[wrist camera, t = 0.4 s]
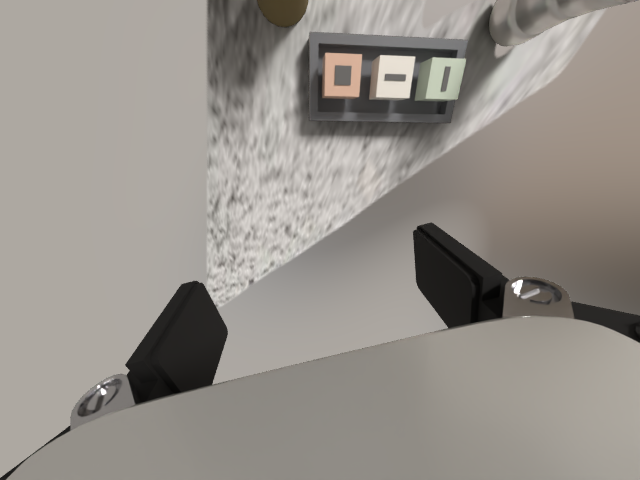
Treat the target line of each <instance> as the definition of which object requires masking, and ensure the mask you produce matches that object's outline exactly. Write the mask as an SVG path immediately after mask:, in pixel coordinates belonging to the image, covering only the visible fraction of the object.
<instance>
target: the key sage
mask: <svg viewBox="0 0 640 480" xmlns="http://www.w3.org/2000/svg"><path fill="white" fill-rule="evenodd" d="M465 63H466V59H459V58H436V57H432V58H430V59H428V60H426V61H424V62H422V63H420V68H419V75H418V81H417V88H416V94H415V101H451V100H457V99H458V95H459V91H460V86H461V82H462V77H463V72H464V68H465Z"/></svg>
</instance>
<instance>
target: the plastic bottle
mask: <svg viewBox="0 0 640 480" xmlns="http://www.w3.org/2000/svg"><path fill="white" fill-rule="evenodd" d="M635 1H637V0H497V1H496V2H495V5H494V7H493V9H492V12H491V16H490V20H489V30H490V34H491V36H492V38H493V40H494V41H495V42H496V43H497V44H499V45H501V46H513V45H520V44H523V43H525V42H527V41H529V40H531V39H532V38H534V37H536V36H538V35H539V34H541V33H542V32H544V31H546V30H548V29H550V28H552V27H554V26H556V25H558V24H560V23H562V22H564V21H566V20H568V19H571V18H574V17H577V16H581V15H584V14H587V13H590V12H593V11H596V10H600V9H604V8H609V7H613V6H617V5H622V4H626V3H629V2H635Z"/></svg>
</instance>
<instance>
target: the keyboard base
mask: <svg viewBox="0 0 640 480" xmlns="http://www.w3.org/2000/svg"><path fill="white" fill-rule="evenodd" d="M467 43H468V40H461V39H441V38H421V37H402V36H382V35H363V34H343V33H324V32H310V34H309V121H364V122H418V123H450V122H451V117H452V112H453V108H454V103H455V100H451V101H415V94H416V88H417V81H418V75H419V68H420V63H422V62H424V61H426V60H428V59H430V58H432V57H436V58H459V59H464V57H465V52H466V47H467ZM325 53H344V54H362V64H361V78H360V92H359V97H357V98H355V99H332V98H322V66H323V57H324V55H325ZM380 55H390V56H413V57H415V63H414V69H413V76H412V83H411V90H410V97H409V98H408V99H403V100H370V99H369V94H370V83H371V71H372V61H373V60H375V59H376V58H377V57H378V56H380Z"/></svg>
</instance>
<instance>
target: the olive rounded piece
mask: <svg viewBox="0 0 640 480" xmlns="http://www.w3.org/2000/svg"><path fill="white" fill-rule="evenodd" d="M257 2H258V6H259V8H260V10H261V11H262V13H263V15H264V16H265V17H266V18H267V19H268V20H269V21H270V22H271V23H273V24H275V25H277V26H280V27H289V26H292V25H294V24H296V23H297V22H298V21H300V20H301V18H302V17H303V15H304V13H305V12H306V8H307V5H308V0H257Z"/></svg>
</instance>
